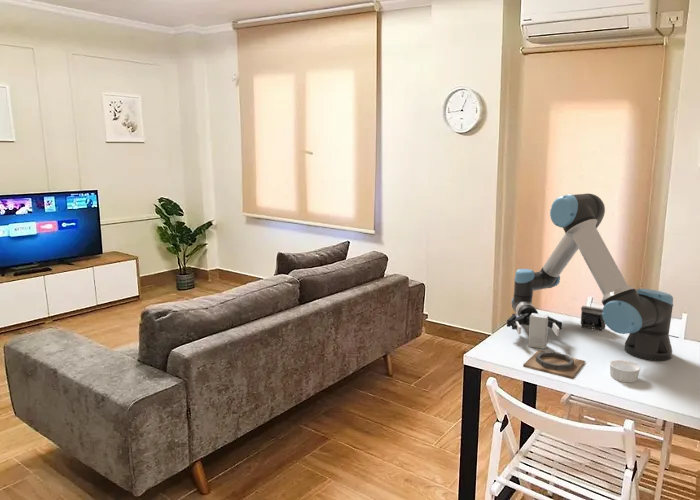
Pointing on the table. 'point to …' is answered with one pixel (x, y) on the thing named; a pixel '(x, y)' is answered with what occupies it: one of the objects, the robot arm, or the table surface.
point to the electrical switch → (592, 318)
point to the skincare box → (538, 330)
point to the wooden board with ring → (554, 363)
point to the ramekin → (624, 371)
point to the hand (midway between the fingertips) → (538, 331)
